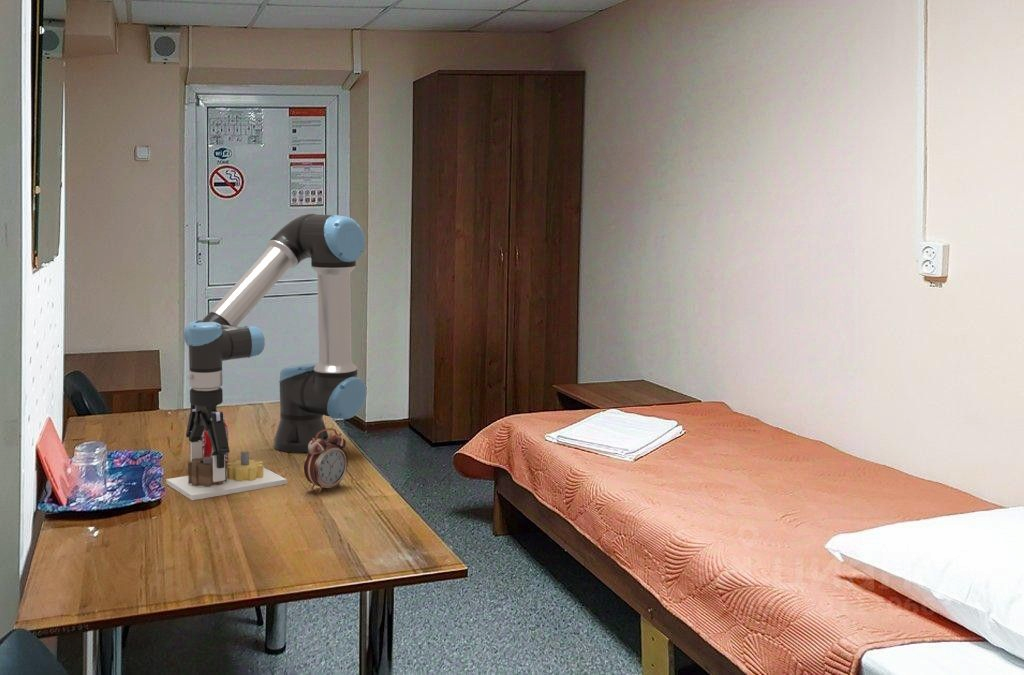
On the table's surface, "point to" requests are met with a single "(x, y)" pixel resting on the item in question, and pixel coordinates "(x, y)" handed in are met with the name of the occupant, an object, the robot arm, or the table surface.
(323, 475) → the alarm clock
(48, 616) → the table surface
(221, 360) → the robot arm
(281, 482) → the gear board
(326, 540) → the table surface
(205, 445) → the soda can
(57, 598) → the table surface
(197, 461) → the walnut gear
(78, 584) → the table surface
